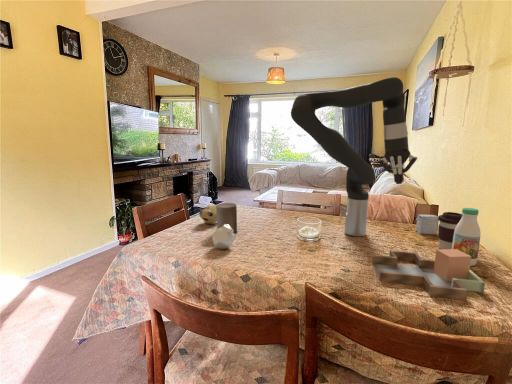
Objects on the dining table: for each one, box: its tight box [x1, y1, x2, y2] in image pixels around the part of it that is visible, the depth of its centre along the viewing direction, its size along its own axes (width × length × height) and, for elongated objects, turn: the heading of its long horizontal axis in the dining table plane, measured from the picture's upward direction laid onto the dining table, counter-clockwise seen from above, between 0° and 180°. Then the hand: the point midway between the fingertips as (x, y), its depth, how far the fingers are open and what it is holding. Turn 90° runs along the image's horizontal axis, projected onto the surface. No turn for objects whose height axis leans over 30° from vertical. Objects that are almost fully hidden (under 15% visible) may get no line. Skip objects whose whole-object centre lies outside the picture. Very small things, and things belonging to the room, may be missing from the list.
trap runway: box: [371, 249, 484, 301], centre depth 91 cm, size 28×26×4 cm
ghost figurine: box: [212, 224, 236, 250], centre depth 115 cm, size 9×9×10 cm
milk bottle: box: [452, 207, 482, 267], centre depth 101 cm, size 8×8×20 cm
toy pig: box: [198, 203, 217, 225], centre depth 149 cm, size 10×12×11 cm
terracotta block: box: [434, 248, 472, 281], centre depth 90 cm, size 7×6×8 cm
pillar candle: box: [215, 202, 238, 235], centre depth 134 cm, size 10×10×15 cm
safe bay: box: [451, 269, 486, 294], centre depth 89 cm, size 8×14×4 cm, turn 167°
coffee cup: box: [437, 211, 462, 249], centre depth 113 cm, size 10×10×15 cm
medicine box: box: [415, 214, 440, 235], centre depth 134 cm, size 8×4×9 cm, turn 84°
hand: (399, 183), depth 103 cm, fingers closed
